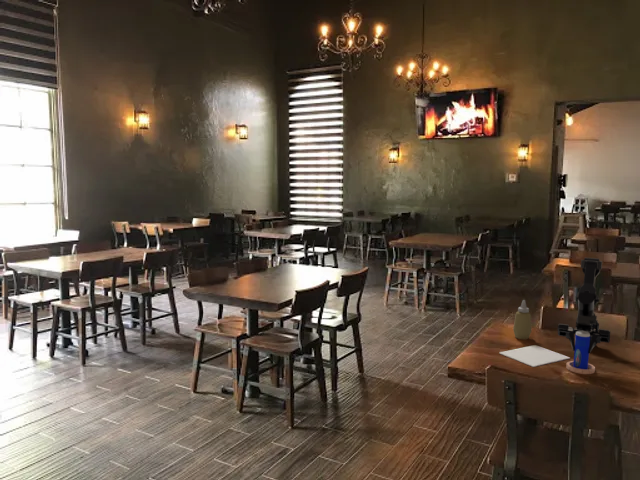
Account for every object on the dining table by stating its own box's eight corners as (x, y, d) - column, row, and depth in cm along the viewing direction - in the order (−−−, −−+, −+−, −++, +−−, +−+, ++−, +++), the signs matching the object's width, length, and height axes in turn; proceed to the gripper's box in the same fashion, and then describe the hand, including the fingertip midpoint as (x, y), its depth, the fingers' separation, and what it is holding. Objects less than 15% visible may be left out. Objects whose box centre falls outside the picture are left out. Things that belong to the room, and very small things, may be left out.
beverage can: (570, 366, 212) (573, 330, 210) (582, 366, 212) (585, 330, 211) (577, 371, 207) (580, 334, 205) (590, 371, 207) (593, 334, 205)
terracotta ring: (577, 363, 216) (577, 359, 216) (600, 371, 208) (600, 367, 207) (560, 367, 212) (561, 363, 212) (583, 375, 203) (583, 371, 203)
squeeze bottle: (530, 336, 252) (532, 299, 249) (531, 341, 244) (533, 303, 242) (512, 334, 254) (514, 297, 252) (512, 339, 247) (514, 301, 244)
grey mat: (535, 345, 238) (535, 345, 238) (570, 358, 222) (570, 357, 222) (499, 353, 228) (499, 352, 227) (533, 367, 212) (533, 366, 212)
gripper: (559, 304, 215) (554, 337, 206) (612, 310, 205) (609, 345, 197) (560, 318, 222) (555, 351, 214) (610, 324, 213) (608, 359, 205)
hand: (581, 351), depth 208 cm, fingers closed on beverage can, 5 cm apart
